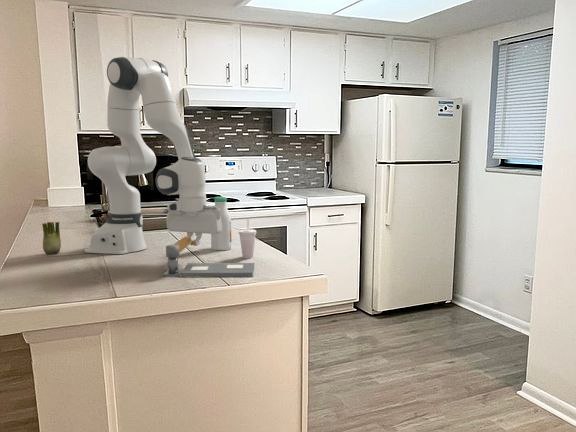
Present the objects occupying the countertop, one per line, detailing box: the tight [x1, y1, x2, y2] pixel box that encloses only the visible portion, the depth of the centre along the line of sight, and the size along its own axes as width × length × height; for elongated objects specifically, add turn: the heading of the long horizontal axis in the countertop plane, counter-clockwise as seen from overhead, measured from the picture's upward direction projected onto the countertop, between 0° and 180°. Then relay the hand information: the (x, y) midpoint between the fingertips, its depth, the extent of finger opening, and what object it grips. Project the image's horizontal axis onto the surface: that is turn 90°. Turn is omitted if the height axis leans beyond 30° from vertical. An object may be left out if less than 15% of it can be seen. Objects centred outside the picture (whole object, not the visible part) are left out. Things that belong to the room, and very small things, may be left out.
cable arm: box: [165, 233, 195, 258], centre depth 168 cm, size 24×4×3 cm, turn 176°
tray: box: [180, 262, 255, 278], centre depth 162 cm, size 22×12×2 cm, turn 91°
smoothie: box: [238, 218, 257, 260], centre depth 180 cm, size 6×6×14 cm
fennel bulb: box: [41, 221, 62, 255], centre depth 185 cm, size 6×5×12 cm
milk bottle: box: [210, 196, 232, 251], centre depth 193 cm, size 8×8×20 cm
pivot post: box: [163, 257, 184, 277], centre depth 159 cm, size 5×5×6 cm
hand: (195, 245), depth 174 cm, fingers closed
